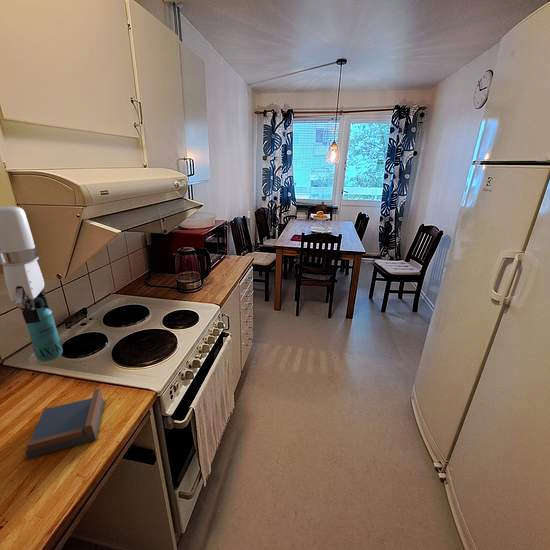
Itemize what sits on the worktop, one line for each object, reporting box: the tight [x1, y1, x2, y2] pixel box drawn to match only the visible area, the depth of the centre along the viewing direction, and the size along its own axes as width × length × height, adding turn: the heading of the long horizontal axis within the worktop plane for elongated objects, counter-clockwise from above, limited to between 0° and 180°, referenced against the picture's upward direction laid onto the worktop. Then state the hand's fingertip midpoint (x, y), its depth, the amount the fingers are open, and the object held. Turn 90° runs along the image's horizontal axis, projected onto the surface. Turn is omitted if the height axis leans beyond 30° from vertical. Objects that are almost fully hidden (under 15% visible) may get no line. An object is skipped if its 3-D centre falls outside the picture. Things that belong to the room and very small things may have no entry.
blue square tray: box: [24, 387, 105, 459], centre depth 80 cm, size 15×14×6 cm
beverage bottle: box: [25, 298, 64, 363], centre depth 82 cm, size 6×7×20 cm
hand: (38, 315), depth 80 cm, fingers closed on beverage bottle, 6 cm apart
